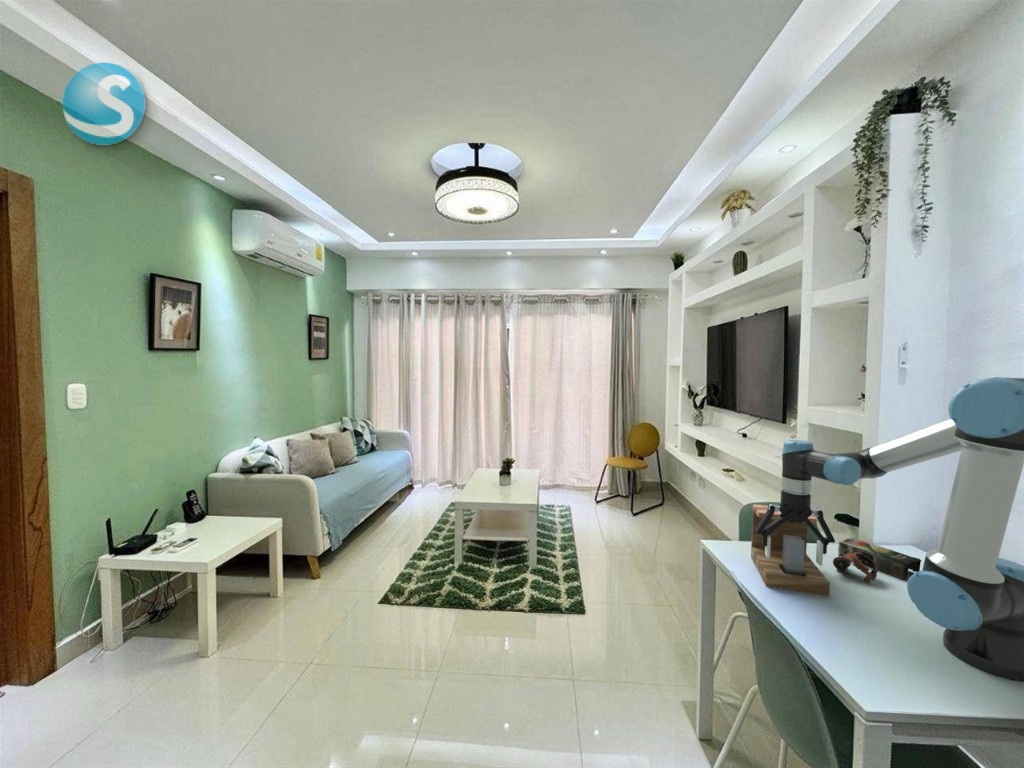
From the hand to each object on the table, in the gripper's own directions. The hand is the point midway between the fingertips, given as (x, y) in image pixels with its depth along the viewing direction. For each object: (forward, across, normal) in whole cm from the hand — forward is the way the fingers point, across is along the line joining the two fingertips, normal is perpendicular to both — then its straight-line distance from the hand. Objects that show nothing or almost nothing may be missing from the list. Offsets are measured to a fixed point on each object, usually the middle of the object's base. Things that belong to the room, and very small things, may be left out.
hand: (792, 560), depth 128 cm
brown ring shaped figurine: (+8, -20, -12) cm, 25 cm away
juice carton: (+8, -31, -24) cm, 40 cm away
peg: (+7, 0, 0) cm, 7 cm away
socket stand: (+7, 0, -5) cm, 9 cm away
